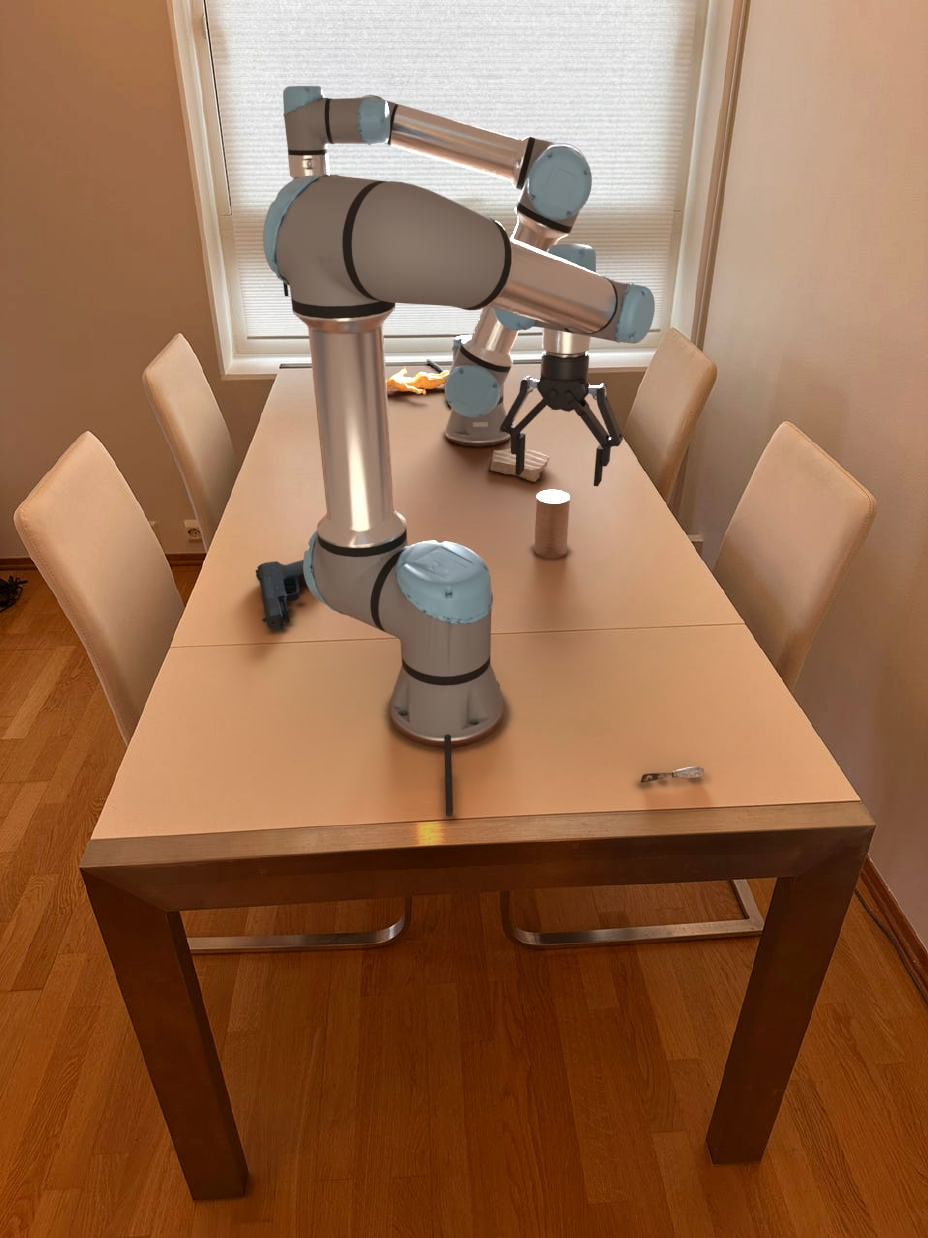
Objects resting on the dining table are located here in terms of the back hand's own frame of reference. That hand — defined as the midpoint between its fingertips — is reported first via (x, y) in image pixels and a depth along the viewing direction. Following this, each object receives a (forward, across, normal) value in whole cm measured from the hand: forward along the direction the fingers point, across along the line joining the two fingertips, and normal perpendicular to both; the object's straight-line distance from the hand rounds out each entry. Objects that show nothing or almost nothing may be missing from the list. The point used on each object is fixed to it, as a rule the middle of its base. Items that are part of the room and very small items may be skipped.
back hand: (320, 293), depth 183 cm
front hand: (+20, +34, -59) cm, 71 cm away
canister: (+35, +34, -56) cm, 74 cm away
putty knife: (+35, +31, -118) cm, 127 cm away
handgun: (+35, -12, -64) cm, 74 cm away
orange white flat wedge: (+35, +28, +41) cm, 60 cm away
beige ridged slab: (+35, +38, -19) cm, 55 cm away
